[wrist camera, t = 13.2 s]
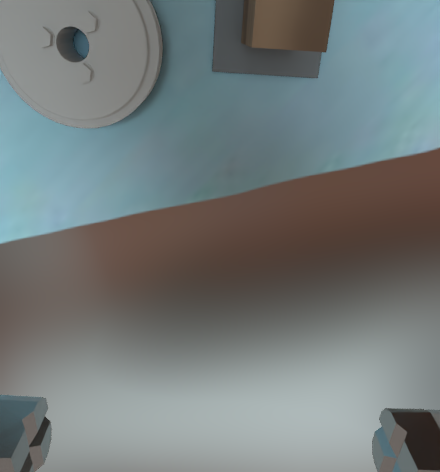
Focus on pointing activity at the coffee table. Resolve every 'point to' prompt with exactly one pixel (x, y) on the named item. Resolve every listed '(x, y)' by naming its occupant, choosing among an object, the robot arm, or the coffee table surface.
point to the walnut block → (287, 24)
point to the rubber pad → (254, 49)
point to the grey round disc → (76, 67)
